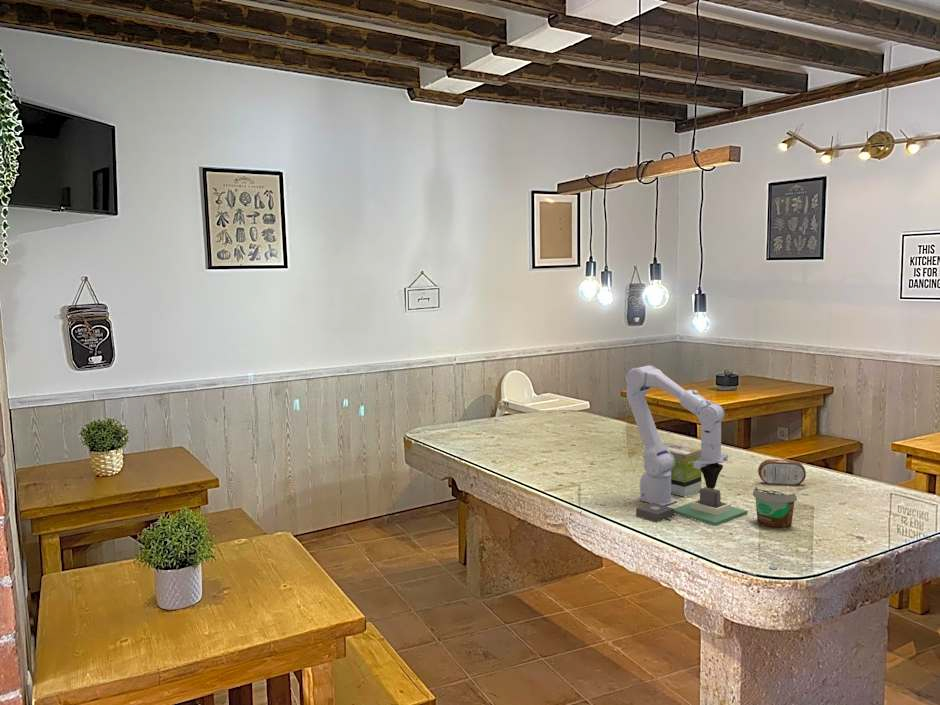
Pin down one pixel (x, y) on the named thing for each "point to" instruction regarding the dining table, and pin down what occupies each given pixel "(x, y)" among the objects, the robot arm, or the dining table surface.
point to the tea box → (684, 470)
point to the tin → (782, 472)
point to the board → (709, 512)
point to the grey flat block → (655, 512)
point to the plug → (710, 497)
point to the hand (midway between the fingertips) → (710, 487)
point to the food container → (774, 508)
